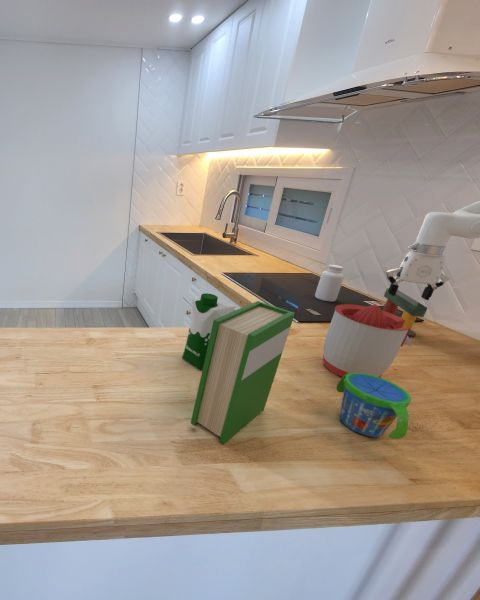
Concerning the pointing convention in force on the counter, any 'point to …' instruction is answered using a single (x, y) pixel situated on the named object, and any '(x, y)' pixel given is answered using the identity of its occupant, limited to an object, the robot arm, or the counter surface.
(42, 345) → the counter surface
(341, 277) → the pill bottle
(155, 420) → the counter surface
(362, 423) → the snack cup
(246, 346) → the hardback book
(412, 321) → the mustard post
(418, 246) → the robot arm
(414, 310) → the bar
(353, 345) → the citrus juicer
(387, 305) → the red post
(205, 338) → the milk carton
